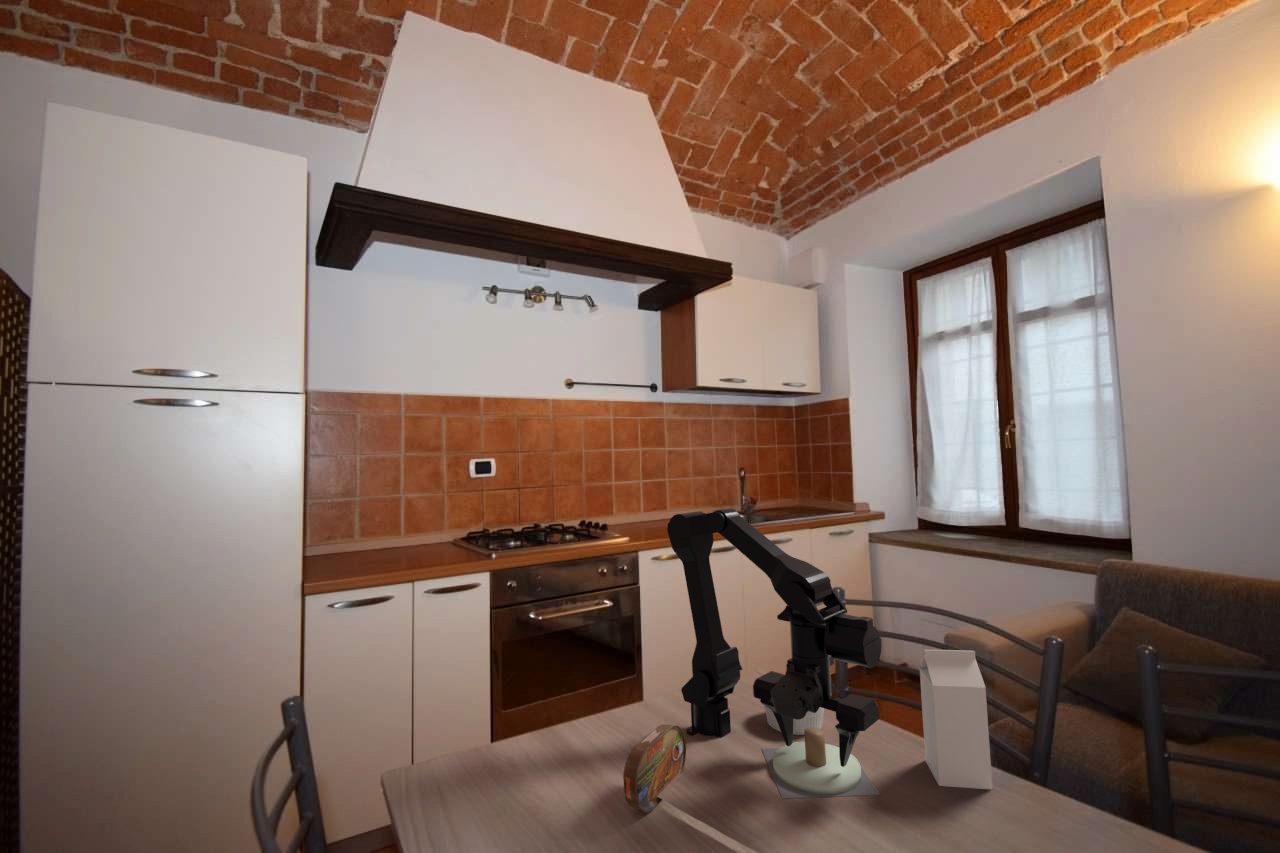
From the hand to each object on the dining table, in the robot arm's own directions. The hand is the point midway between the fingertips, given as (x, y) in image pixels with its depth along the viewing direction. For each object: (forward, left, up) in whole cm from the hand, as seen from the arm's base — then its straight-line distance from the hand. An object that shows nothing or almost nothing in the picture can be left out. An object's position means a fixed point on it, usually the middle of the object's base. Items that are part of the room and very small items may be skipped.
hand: (815, 755), depth 89 cm
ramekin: (-11, +12, -3) cm, 17 cm away
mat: (0, 0, -3) cm, 3 cm away
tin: (-15, -20, -3) cm, 25 cm away
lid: (0, 0, -2) cm, 2 cm away
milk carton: (+16, +13, -3) cm, 21 cm away
